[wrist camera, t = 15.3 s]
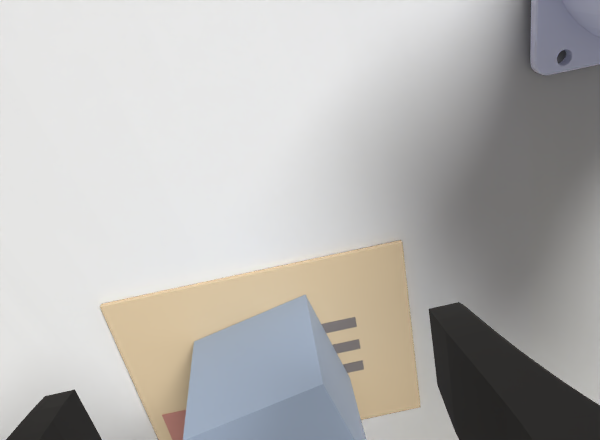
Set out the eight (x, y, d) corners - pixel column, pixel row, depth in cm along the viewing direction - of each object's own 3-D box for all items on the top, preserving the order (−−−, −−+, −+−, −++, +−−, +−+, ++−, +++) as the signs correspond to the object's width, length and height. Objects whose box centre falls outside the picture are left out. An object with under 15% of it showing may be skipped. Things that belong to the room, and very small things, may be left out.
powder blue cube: (305, 294, 22) (322, 384, 17) (350, 377, 24) (375, 476, 19) (193, 341, 22) (182, 441, 18) (247, 419, 24) (250, 524, 20)
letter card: (401, 240, 21) (402, 243, 21) (419, 403, 25) (420, 407, 25) (101, 303, 21) (100, 307, 21) (168, 458, 25) (167, 462, 25)
